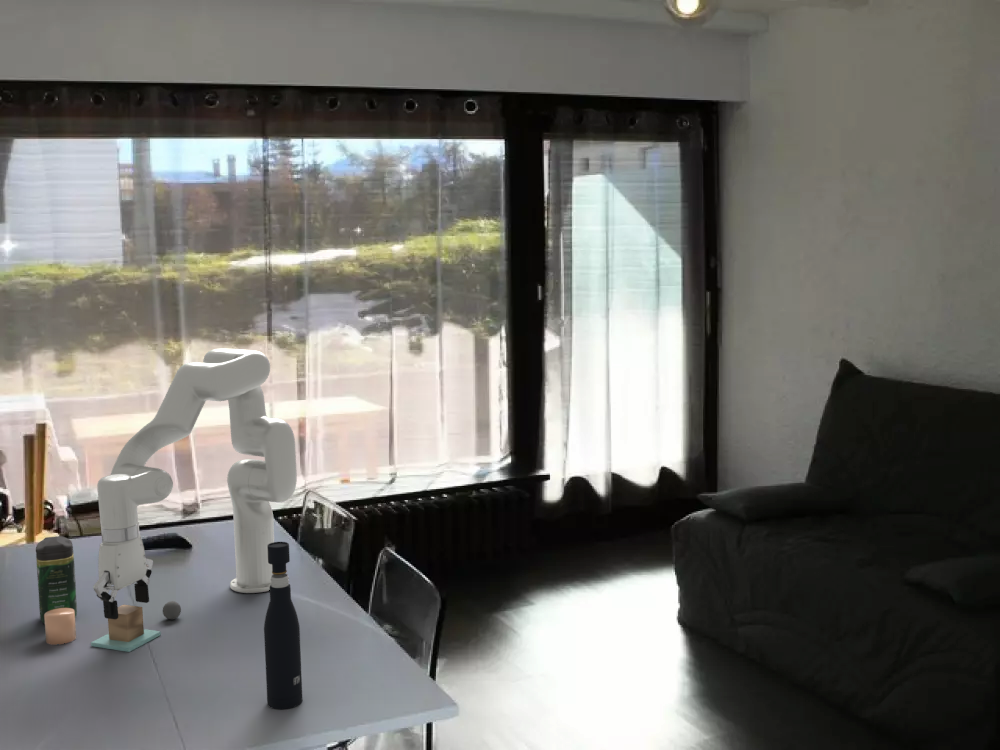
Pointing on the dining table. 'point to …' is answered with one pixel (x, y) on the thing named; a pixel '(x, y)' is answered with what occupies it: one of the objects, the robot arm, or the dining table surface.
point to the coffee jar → (56, 574)
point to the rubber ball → (171, 610)
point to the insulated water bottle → (282, 635)
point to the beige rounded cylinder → (60, 626)
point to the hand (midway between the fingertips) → (127, 609)
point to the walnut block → (126, 624)
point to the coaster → (126, 646)
